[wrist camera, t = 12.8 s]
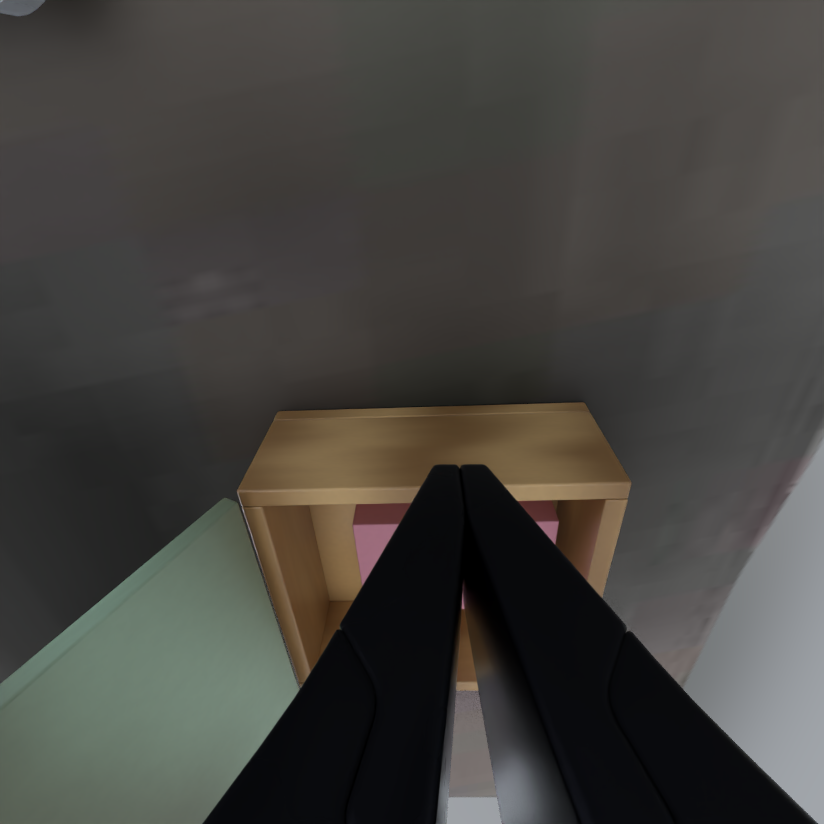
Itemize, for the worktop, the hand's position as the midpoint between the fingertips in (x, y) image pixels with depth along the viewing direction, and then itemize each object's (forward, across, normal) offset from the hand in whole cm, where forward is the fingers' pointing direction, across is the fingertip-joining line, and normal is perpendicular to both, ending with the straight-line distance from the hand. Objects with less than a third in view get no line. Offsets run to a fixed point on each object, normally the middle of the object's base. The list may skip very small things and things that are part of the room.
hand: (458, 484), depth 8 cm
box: (+12, 0, +13) cm, 17 cm away
